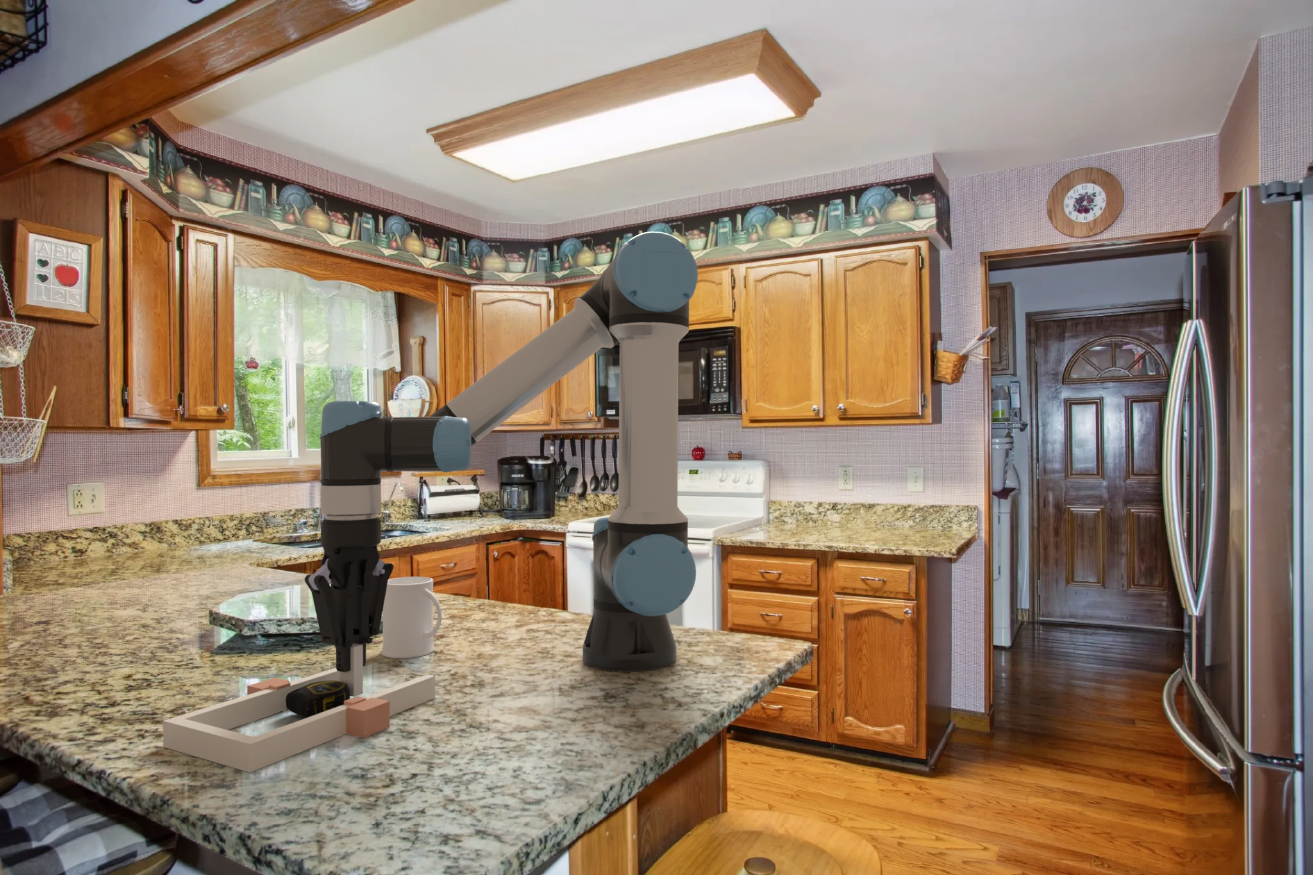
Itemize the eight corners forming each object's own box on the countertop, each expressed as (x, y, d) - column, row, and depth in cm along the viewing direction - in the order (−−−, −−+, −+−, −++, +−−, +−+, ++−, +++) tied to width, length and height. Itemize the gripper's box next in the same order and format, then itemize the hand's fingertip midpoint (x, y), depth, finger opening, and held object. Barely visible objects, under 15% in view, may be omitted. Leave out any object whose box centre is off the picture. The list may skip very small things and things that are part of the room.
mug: (457, 653, 130) (457, 581, 131) (414, 664, 124) (414, 588, 124) (413, 642, 137) (413, 574, 138) (370, 653, 130) (370, 581, 131)
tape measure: (283, 716, 100) (283, 687, 100) (335, 703, 105) (335, 675, 105) (306, 729, 96) (305, 699, 96) (359, 715, 101) (359, 686, 101)
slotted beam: (451, 701, 106) (451, 675, 106) (268, 777, 81) (268, 745, 81) (340, 679, 116) (341, 656, 116) (148, 742, 91) (148, 713, 91)
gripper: (369, 511, 112) (369, 676, 112) (289, 519, 100) (289, 703, 100) (408, 513, 108) (408, 684, 108) (330, 522, 97) (329, 712, 97)
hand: (351, 693), depth 104 cm, fingers closed
